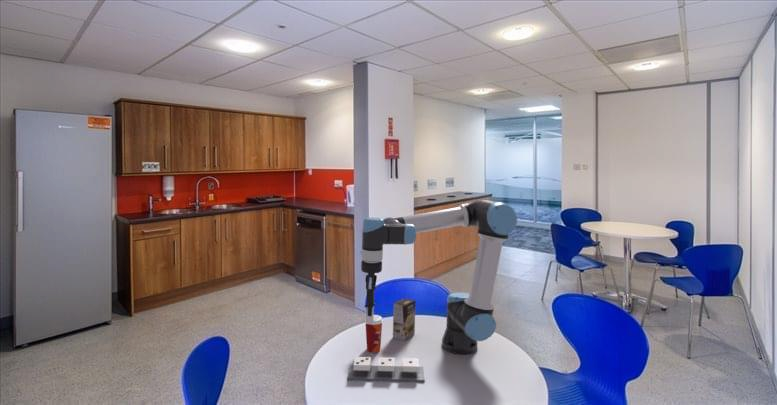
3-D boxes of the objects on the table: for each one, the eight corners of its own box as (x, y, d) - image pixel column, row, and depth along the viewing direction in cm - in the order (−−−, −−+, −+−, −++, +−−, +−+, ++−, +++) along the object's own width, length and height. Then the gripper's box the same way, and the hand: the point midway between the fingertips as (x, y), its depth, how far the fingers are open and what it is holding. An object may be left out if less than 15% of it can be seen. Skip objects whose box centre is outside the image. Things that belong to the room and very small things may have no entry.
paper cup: (380, 354, 158) (380, 322, 157) (362, 352, 160) (362, 320, 159) (384, 346, 166) (384, 314, 165) (367, 344, 168) (367, 313, 166)
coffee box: (404, 341, 171) (404, 306, 169) (392, 337, 175) (392, 303, 173) (415, 333, 179) (415, 300, 177) (403, 330, 182) (404, 297, 181)
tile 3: (371, 362, 147) (371, 356, 147) (369, 370, 141) (369, 365, 141) (355, 361, 147) (355, 356, 147) (353, 370, 141) (353, 364, 141)
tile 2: (394, 362, 147) (394, 357, 146) (394, 371, 141) (394, 365, 140) (378, 362, 147) (378, 357, 147) (377, 370, 141) (378, 365, 141)
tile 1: (418, 363, 146) (418, 357, 146) (419, 371, 140) (419, 366, 140) (402, 362, 147) (402, 357, 146) (402, 371, 141) (402, 365, 140)
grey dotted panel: (423, 368, 148) (423, 366, 148) (424, 382, 139) (424, 379, 139) (350, 367, 149) (350, 364, 149) (347, 380, 140) (347, 377, 140)
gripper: (363, 255, 146) (360, 315, 148) (359, 264, 133) (357, 330, 135) (382, 256, 146) (380, 316, 148) (381, 265, 133) (378, 331, 135)
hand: (369, 323), depth 142 cm, fingers closed
